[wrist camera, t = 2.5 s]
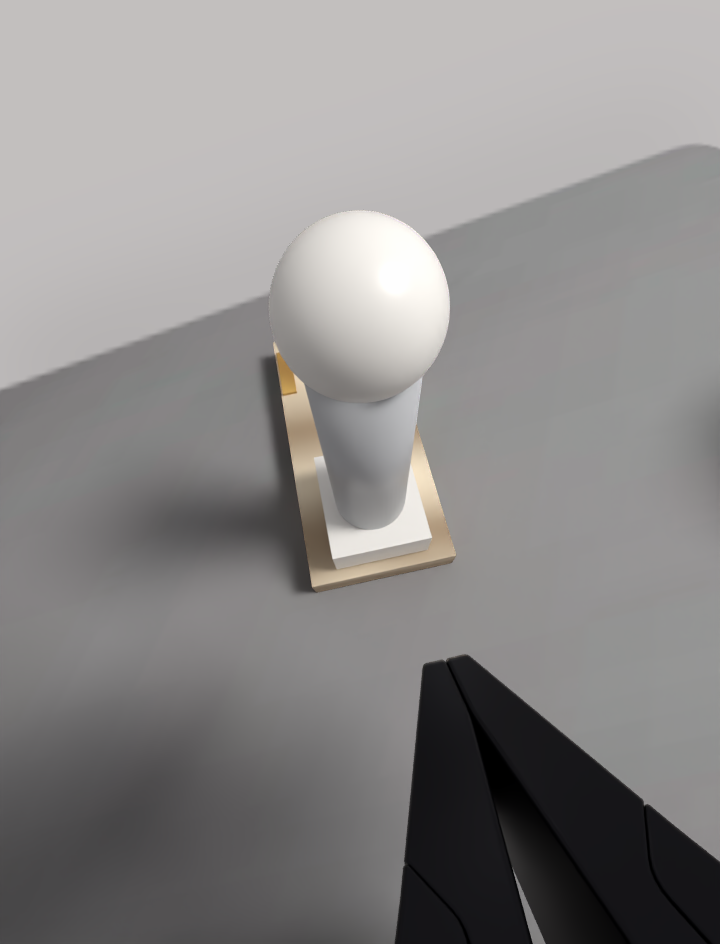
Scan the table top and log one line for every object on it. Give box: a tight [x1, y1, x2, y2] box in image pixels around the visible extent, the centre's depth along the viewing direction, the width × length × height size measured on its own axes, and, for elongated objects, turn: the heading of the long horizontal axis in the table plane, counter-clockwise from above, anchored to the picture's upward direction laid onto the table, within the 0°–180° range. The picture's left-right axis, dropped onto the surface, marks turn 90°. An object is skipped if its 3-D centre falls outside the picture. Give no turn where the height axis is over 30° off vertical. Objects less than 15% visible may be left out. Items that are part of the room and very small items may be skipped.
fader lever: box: [269, 210, 450, 569], centre depth 15 cm, size 5×4×15 cm
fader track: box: [273, 343, 456, 593], centre depth 25 cm, size 15×7×2 cm, turn 12°
